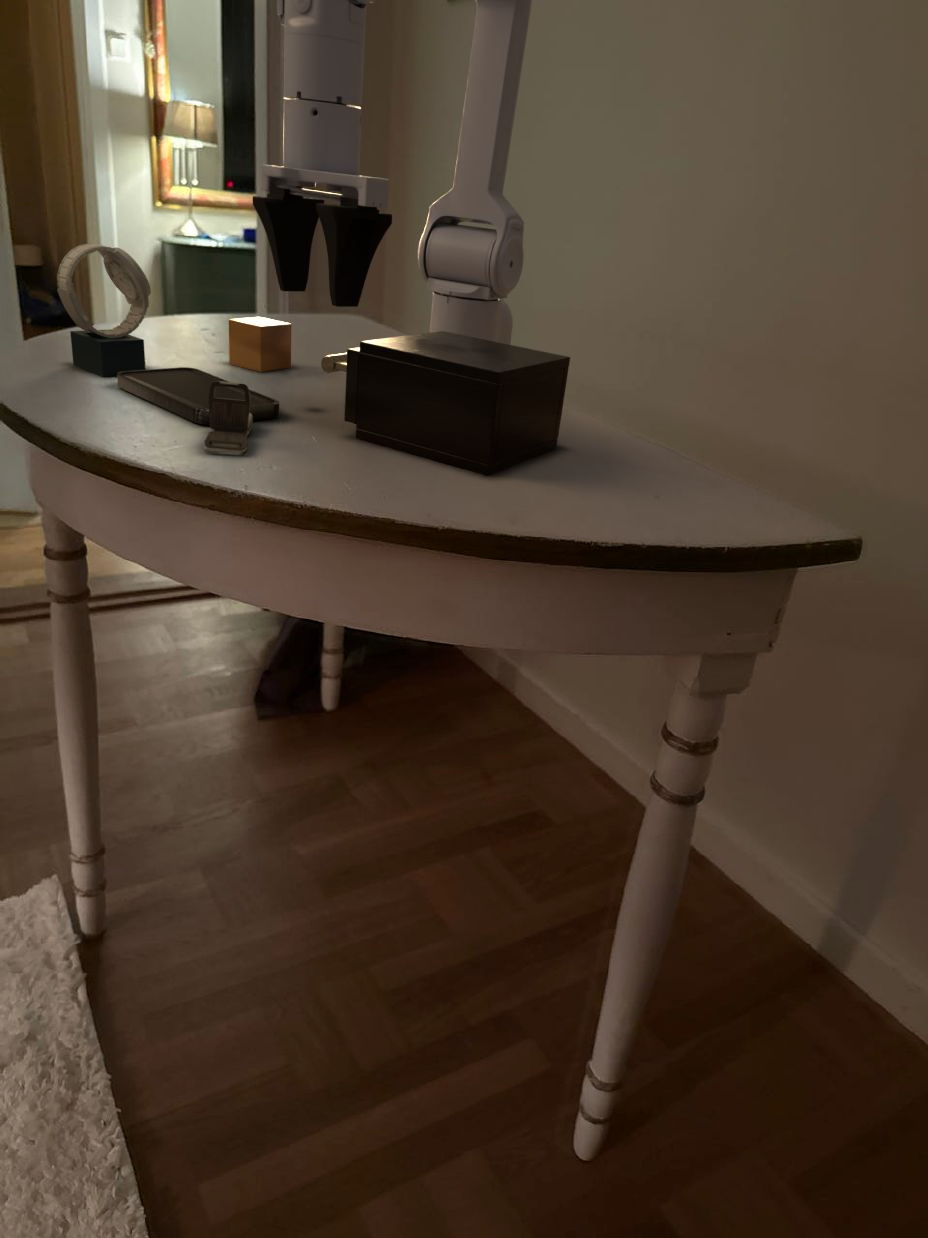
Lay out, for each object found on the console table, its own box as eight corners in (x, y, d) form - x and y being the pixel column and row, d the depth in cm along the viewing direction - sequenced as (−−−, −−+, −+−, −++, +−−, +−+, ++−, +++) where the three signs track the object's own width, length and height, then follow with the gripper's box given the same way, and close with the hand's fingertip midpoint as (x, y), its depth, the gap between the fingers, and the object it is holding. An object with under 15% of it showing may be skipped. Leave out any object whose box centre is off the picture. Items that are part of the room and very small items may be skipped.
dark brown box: (355, 437, 71) (359, 341, 68) (434, 416, 80) (442, 330, 77) (487, 475, 66) (499, 372, 62) (556, 448, 75) (570, 356, 71)
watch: (164, 371, 85) (158, 249, 80) (84, 378, 80) (73, 247, 75) (133, 360, 88) (125, 242, 84) (54, 365, 83) (41, 239, 78)
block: (259, 359, 95) (259, 316, 93) (291, 367, 93) (291, 323, 91) (229, 363, 92) (228, 319, 90) (261, 372, 90) (260, 326, 88)
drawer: (302, 409, 74) (303, 338, 71) (377, 394, 82) (380, 329, 80) (461, 453, 67) (469, 376, 64) (526, 431, 75) (535, 362, 72)
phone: (202, 412, 69) (112, 371, 78) (202, 426, 69) (113, 384, 78) (286, 403, 74) (192, 366, 83) (285, 416, 74) (193, 378, 83)
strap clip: (215, 419, 71) (214, 366, 69) (253, 422, 71) (254, 369, 69) (202, 453, 63) (201, 394, 61) (245, 456, 64) (246, 398, 62)
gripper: (225, 95, 67) (228, 283, 73) (333, 97, 58) (326, 313, 64) (304, 108, 71) (301, 284, 77) (416, 112, 62) (403, 312, 68)
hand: (318, 298), depth 71 cm, fingers open, 7 cm apart
